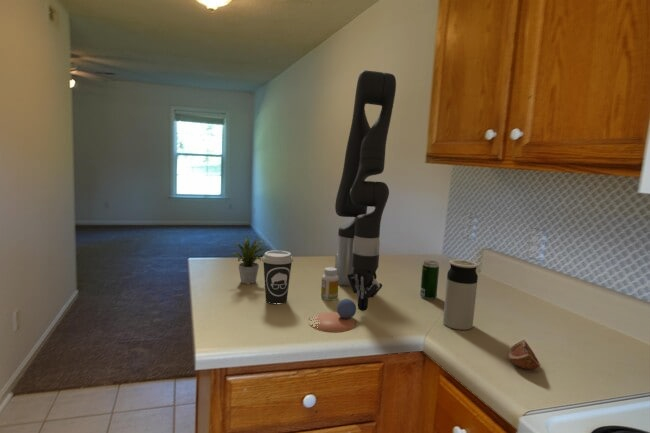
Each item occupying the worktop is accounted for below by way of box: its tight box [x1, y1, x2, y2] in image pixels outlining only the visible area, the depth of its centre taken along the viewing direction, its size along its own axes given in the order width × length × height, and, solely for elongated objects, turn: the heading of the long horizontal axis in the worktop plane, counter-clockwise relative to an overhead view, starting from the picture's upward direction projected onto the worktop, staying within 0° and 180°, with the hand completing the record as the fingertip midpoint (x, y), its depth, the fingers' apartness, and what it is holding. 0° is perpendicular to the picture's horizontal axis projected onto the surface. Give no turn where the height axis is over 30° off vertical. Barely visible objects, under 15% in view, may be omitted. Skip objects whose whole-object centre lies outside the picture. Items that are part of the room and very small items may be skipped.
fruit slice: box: [507, 339, 541, 370], centre depth 95 cm, size 8×7×5 cm
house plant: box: [231, 235, 271, 284], centre depth 145 cm, size 14×14×16 cm
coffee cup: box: [261, 250, 294, 305], centre depth 129 cm, size 10×10×15 cm
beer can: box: [419, 259, 440, 301], centre depth 140 cm, size 5×5×12 cm
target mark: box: [308, 312, 356, 333], centre depth 116 cm, size 13×13×1 cm
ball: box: [336, 298, 357, 319], centre depth 119 cm, size 6×6×6 cm
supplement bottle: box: [320, 266, 339, 301], centre depth 134 cm, size 5×5×10 cm
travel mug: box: [442, 258, 479, 331], centre depth 117 cm, size 8×8×18 cm
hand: (362, 309), depth 122 cm, fingers closed
